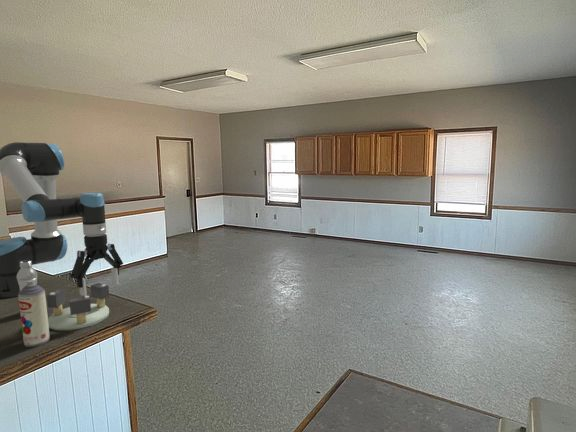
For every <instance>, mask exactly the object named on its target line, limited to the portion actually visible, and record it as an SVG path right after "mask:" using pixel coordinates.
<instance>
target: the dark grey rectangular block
mask: <svg viewBox="0 0 576 432" xmlns="http://www.w3.org/2000/svg"><path fill="white" fill-rule="evenodd" d="M65 302H67V292H66V289H65V288H63V289H61V288H60V289H55V290H53V291H52V292H50V293H48V294H47V295H46V303H47V309H48V308H52V310H53V313H54V316H60V315H62V314H63V309H64V308H63V304H64V303H65Z"/></svg>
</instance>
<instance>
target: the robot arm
mask: <svg viewBox="0 0 576 432" xmlns="http://www.w3.org/2000/svg"><path fill="white" fill-rule="evenodd" d="M64 168H65V158H64V154H63V152H62V150H61V148H60V147H59V146H58V145H57V144H55V143H49V142H21V141H20V142H18V141H17V142H16V141H15V142H11V143H7V144H5V145H3V146H1V148H0V174H1V175H3V176H5V177H6V178H7V180H8V181H9V183H10V184H11V186H12V187H13V188H14V190H15V192H16V193H17V195H18V196H19V197H20V199H21V201H22V204H21V214H22V218H23V219H24V221H25V222H27V223H34V230H33V232H31V233H30V238H29V239H27V238H26V236H16V237H15V236H13V237H10V238H6V239H2V240H0V299H5V298H15V297H18V295H19V292H20V288H19V284H18V281H17V274H18V272H19V270H20V269H21V267H20V262H21V261H24V260H31V261H32V266H34V265H35V266H36V265H40V264H44V263H51V262H55V261H59V260H61V259H63V258H65V256H66V255H67V252H68V242H67V238H66V236H65V235H64V234H63V233H62V231H60V230H59V229H58V220H65V219H73V218H81V219H82V220H81V221H82V233H83V235H84V237H83V242H84V246H85V250H77V251H76V252H77V253H76V259H75V262H74V265H73V268H72V270H71V272H70V279H76V286H77V288H79V296H82V297H85V296H88V293H87V282H86V277H85V275H86V273H87V272H88V270H89V268H90V266H91V264H92V263H94V261H97V260H100V259H103V260H105V261H106V262H107V263H108V264H109V265H110V266H111V267H110V273H111V284H112V285H116V286H117V285H120V284H119V283H120V282H119V275H120V268H121V266H122V265H124V262H123V259H121V257H120V255H119V253H118V252H117V250H116V247H115V244H114V243H108V235H107V234H106V233H107V223H106V212H105V211H106V210H105V208H106V207H105V200H104V195H103V194H102V192H84V193H81V194H80V195H79V196H73V197H67V198H65V197H64V198H57V188H56V187H57V181H56V179H57V177H59V176H60V171H62V170H64ZM108 252H109V253H108ZM84 277H85V278H84Z"/></svg>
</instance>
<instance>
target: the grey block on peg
mask: <svg viewBox="0 0 576 432" xmlns="http://www.w3.org/2000/svg"><path fill="white" fill-rule="evenodd" d="M109 288H110V287H109V285H107V284H104V283H98V282H97V283H96V282H95V283H93V284H90V295H91V297H90V298H95V299H96V304H97V308H102V307H105V305H106V300H105V299H107V298H109V297H110V290H109Z"/></svg>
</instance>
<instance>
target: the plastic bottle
mask: <svg viewBox="0 0 576 432" xmlns="http://www.w3.org/2000/svg"><path fill="white" fill-rule="evenodd" d="M20 267H21V269H20V270H19V272H18V274H17V281H18V284H19V288H20V291H21V290H22V289H23V288H24V287H25V286H26V285H27V281H30V280H34V283H35V284H37V285H38V272H37V270H36V269H35V268H34V267H33V265H32V261H31V260H24V261H21V262H20Z"/></svg>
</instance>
